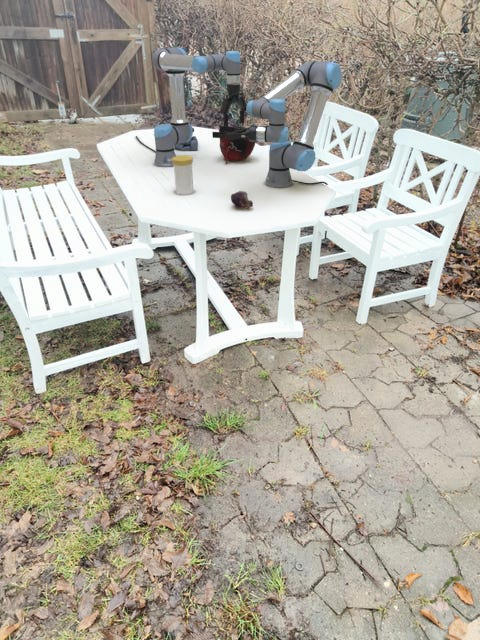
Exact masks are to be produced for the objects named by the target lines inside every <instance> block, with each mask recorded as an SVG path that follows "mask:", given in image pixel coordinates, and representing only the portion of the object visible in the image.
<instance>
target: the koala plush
mask: <svg viewBox="0 0 480 640" xmlns="http://www.w3.org/2000/svg"><path fill="white" fill-rule="evenodd" d="M188 123H189V124H190V125H191V127H192V129H193V133H194V132H195V128H194V127H193V125H192V124H191V123H190V121H188ZM174 149H176V150H179V151H197V150H198V149H199V141H198V138H197V137H196V136H195V135H192V138H191V139H190V140H189V141H188V142H185V143H180V144H176V145H174Z"/></svg>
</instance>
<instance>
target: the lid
mask: <svg viewBox="0 0 480 640" xmlns="http://www.w3.org/2000/svg"><path fill="white" fill-rule="evenodd" d="M193 162H194V159H193V157H192V156H191V155H176V157H173V158H172V163H173V164H175V165H189V164H192V165H193Z"/></svg>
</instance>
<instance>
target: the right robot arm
mask: <svg viewBox="0 0 480 640" xmlns="http://www.w3.org/2000/svg"><path fill="white" fill-rule="evenodd" d="M342 79H343V72H342V68H341V66H340V64H339V63H337V62H332V61H319V60H318V61H317V60H311V61H307V62H305V63H303V64H301V65H299V66H298V67H296V68H295V69H293V70H292V71H291V72H290V73H289V76H288V77H287V78H285V79H284V80H283V81H281V82H280V83H278V84H277V85H276V86H274V87H273V88H272V89H270V90H269V91H268V92H267V93H265V94H264V95H262V96H261V97H260V98H258V99H257V100H256V99H252V100H249V101H248V103H246V105H247V107H246V113H247V115H248V116H249V117H252V118H256V119H263V120H268V124H269V125H258V124H257V125H254V124H250V125H249V127H244V126H239V125H233V126H229V125H228V126H224V125H222V126H221V125H219V128H218V131H211V132H212V138H213V139H220V138H225V139H226V140H228V139H245V137H248V138H249V141H252V142H255V143H256V142H258V143H259V142H260V143H262V144H264V143H270V144H269V150H268V171H267V175H266V176H265V177H266V178H265V182H264V183H265V185H266V186H268V187H271V188H278V189H279V188H288V187H290V186H292V185H293V183H297V184H302V185H307V186H308V185H310V186H311V185H320V184H324V185H326V186H329V184H328V183H327V182H326V181H317V182H304V181H301V180H294V179H293V178H292V174H291V170H295V171H297V172H308V171H309V170H310V169H311V168H312V167H313V165H314V164H315V162H316V152H315V146H314V141H315V138H316V135H317V132H318V129H319V125H320V123H321V120H322V116H323V113H324V112H325V111H324V110H325V108H326V105H327V101H328V99H329V97H330V96H332V95H333V93H334V90H337V89H339V88H340V86H341V84H342ZM306 87H310V89H311V95H310V98H309V100H308V103H307V107H306V111H305V114H304V116H303V120H302V123H301V126H300V129H299V133H298V134H297V135H298V136H297V138H296V139H294V140H293V142H292V141H290V140H289V134H290V131H289V127H288V126H286V124H285V122H286V112H287V111H286V100H285V99H287V98H288V97H289V96H291V95H293V94H294V93H295V92H296V91H297V90H302V89H303V88H306ZM227 132H230V133H227ZM290 169H291V170H290ZM327 234H328V230H324V240H327Z"/></svg>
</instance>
